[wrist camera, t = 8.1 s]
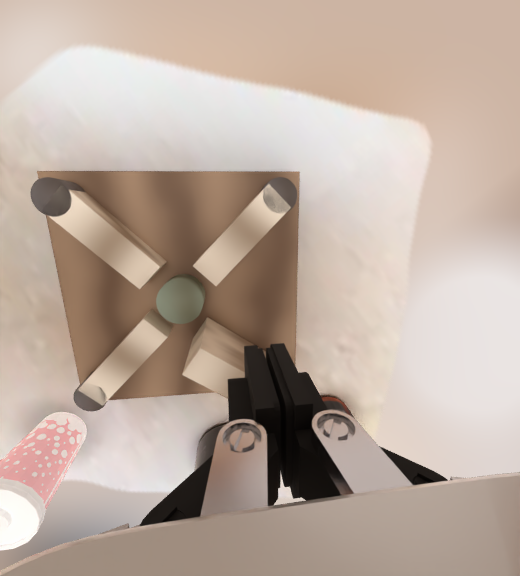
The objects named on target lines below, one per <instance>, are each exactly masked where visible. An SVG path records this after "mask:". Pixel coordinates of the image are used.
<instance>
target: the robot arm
mask: <svg viewBox="0 0 520 576" xmlns="http://www.w3.org/2000/svg"><path fill="white" fill-rule="evenodd" d="M244 367H245V378H233V379H228V403H229V423H228V424H226V425H224V426H223V428H222V429H221V430H220V431H219V434H218V436H217V440H216V445H215V449H214V454H213V455H212V456H211V457H210V458H209V459H208V460H206V461H205V462H204V463H203V464H202V465H201V466H200V467H199V468H198V469H196V470H195V471H194V472H193V473H192V474H191V475H190V476H189V477H188V478H187V479H185V480H184V481H183V482H182V483H181V484H180V485H179V486H178V487H177V488H176V489H174V490H173V491H172V492H171V493H170V494H169V495H168V496H167V497H166V498H164V499H163V500H162V501H161V502H160V503H159V504H158V505H157V506H156V507H155V508H153V509H152V510H151V511H150V512H149V514H148V515H147V516H146V517H145V518H144V519H143V521H142V523H141V524H140V525H137V526H135V527H132V528H129V524H125V525H122V526H120V527H117V528H115V529H112V530H109V531H106V532H103V533H101V534H98V535H94V536H89V537H86V538H82V539H78V540H75V541H71V542H68V543H64V544H61V545H58V546H56V547H53V548H50V549H48V550H45V551H43V552H40V553H37V554H35V555H32V556H30V557H27V558H26V559H23V560H21V561H20V562H17V563H16V564H13V565H11V566H9V567H7V568H5V569H3V570H1V571H0V576H520V472H518V473H507V474H495V475H488V476H480V477H474V478H473V477H472V478H458V477H451V479H450V480H449V481H448V480H447V479H446V478H444V477H443V476H441V475H440V474H438V473H436V472H434V471H432V470H430V469H428V468H426V467H423V466H421V465H419V464H416V463H415V462H412V461H410V460H408V459H406V458H404V457H401V456H399V455H397V454H395V453H393V452H391V451H388V450H386V449H384V448H382V447H380V446H378V445H377V444H376V442H375V441H374V440H373V439H372V438H371V437H370V436H369V434H368V433H367V432H366V431H365V430H364V429H363V428H362V426H361V425H360V424H359V423H358V422H357V421H356V420H355V419H354V418H353V417H352V416H350V415H348V414H346V413H344V412H341V411H337V410H328V409H327V407H326V405H325V404H324V402H323V400H322V398H321V396H320V394H319V393H318V391H317V389H316V387H315V385H314V383H313V382H312V380H311V378H310V376H309V374H308V373H307V372H303V373H298V371H297V369H296V367H295V365H294V363H293V361H292V359H291V357H290V355H289V353H288V350H287V348H286V346H285V344H284V343H279V344H271V345H270V348H266V358H265V355H264V352H263V348H258V346H257V345H251V346H244ZM280 470H281V474H282V479H283V483H284V486H285V487H289V486H290V488H291V492H292V496H293V499H294V498H301V497H302V498H303V499H305V500H306V501H301V502H294V503H287V504H281V505H274V503H275V502H276V500H277V499H278V488H280ZM273 505H274V506H273Z"/></svg>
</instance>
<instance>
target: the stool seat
mask: <svg viewBox="0 0 520 576" xmlns="http://www.w3.org/2000/svg"><path fill="white" fill-rule="evenodd" d="M37 173H38V178H39V179H38V180H37V181H36V182H35V183H34V184H33V186H32V188H31V199H32V202H33V204H34V205H35V207H36V208H37V209H38V210H39V211H40V212H42V213H43V214H45V215H46V218H47V223H48V228H49V233H50V238H51V243H52V247H53V252H54V257H55V262H56V267H57V272H58V277H59V282H60V287H61V292H62V297H63V302H64V307H65V312H66V317H67V322H68V327H69V332H70V337H71V341H72V346H73V351H74V356H75V361H76V366H77V371H78V376H79V381H80V386H79V387H78V388H77V389H76V391H75V393H74V401H75V403H76V405H77V406H78V407H80V408H81V409H83V410H86V411H97V410H99V409H101V408H102V407H104V405H105V404H106V402H107V401H108V400H116V399H130V398H143V397H157V396H171V395H184V394H198V393H211V392H214V391H212V390H210V389H208V388H207V387H205V386H203V385H201V384H199V383H197V382H195V381H193V380H191V379H189V378H187V377H185V376H184V375H182V374H183V370H184V367H185V364H186V360H187V357H188V354H189V350H190V347H191V344H192V340H193V338H194V336H195V335H196V333H197V332H198V330H199V329H200V327H201V326H202V324H203V323H204V321H205V320H206V318H207V317H208V318H210V319H211V320H213V321H215V322H216V323H218V324H220V325H221V326H223V327H225V328H227V329H228V330H230V331H232V332H233V333H235V334H237V335H238V336H240V337H242V338H244V339H245V340H247V341H249V342H250V343H252V344H254V345H257V346H258V347H259V348H263V350H264V351H266V348H270V345H271V344H279V343H284V344H285V346H286V348H287V350H288V353H289V355H290V357H291V359H292V361H293V363H294V365H295V353H296V308H297V263H298V217H299V172H166V171H37Z"/></svg>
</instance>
